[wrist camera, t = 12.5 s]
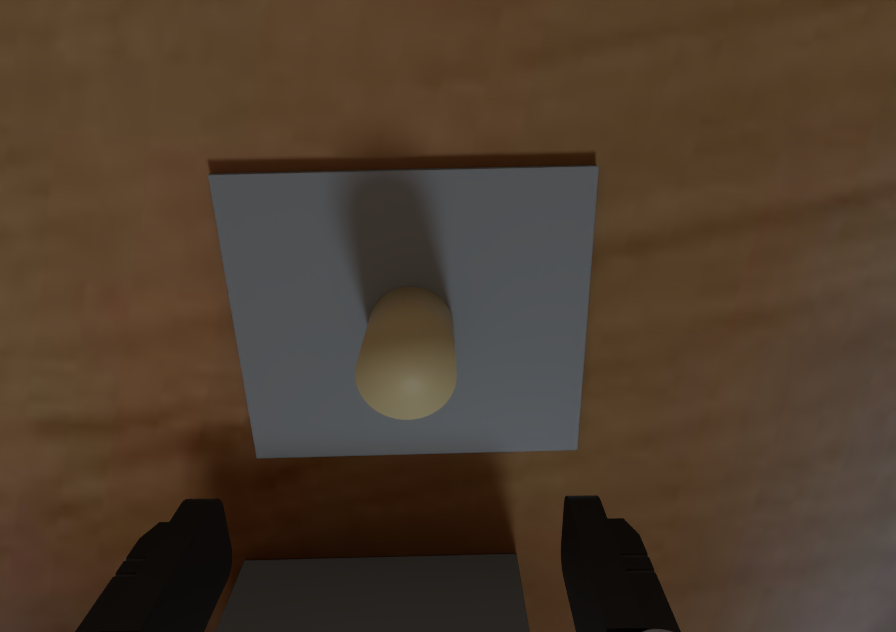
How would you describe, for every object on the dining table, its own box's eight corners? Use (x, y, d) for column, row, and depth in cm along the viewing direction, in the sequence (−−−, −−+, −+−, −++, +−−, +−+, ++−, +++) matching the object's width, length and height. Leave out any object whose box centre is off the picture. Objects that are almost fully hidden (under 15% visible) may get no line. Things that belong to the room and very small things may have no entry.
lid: (592, 162, 23) (635, 185, 18) (572, 437, 28) (602, 516, 23) (217, 171, 23) (154, 196, 18) (262, 445, 28) (223, 527, 23)
